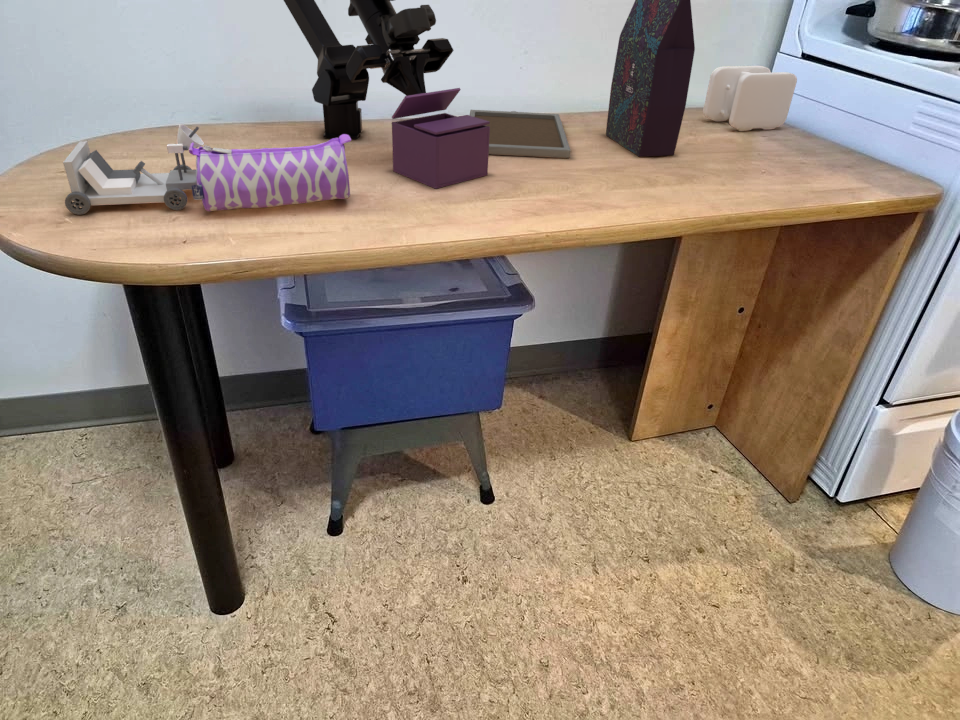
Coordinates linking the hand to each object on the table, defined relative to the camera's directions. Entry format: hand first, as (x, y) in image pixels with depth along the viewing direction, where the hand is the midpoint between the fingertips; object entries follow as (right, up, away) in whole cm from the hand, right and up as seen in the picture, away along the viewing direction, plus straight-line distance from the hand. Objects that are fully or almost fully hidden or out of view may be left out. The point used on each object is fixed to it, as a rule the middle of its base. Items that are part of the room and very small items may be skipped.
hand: (424, 104), depth 112 cm
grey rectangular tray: (+16, +3, +26) cm, 31 cm away
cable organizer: (+67, +10, +41) cm, 80 cm away
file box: (+2, -10, +3) cm, 11 cm away
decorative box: (+40, 0, +23) cm, 47 cm away
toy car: (-40, -18, -12) cm, 45 cm away
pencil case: (-21, -19, -12) cm, 30 cm away
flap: (0, 0, -1) cm, 1 cm away
